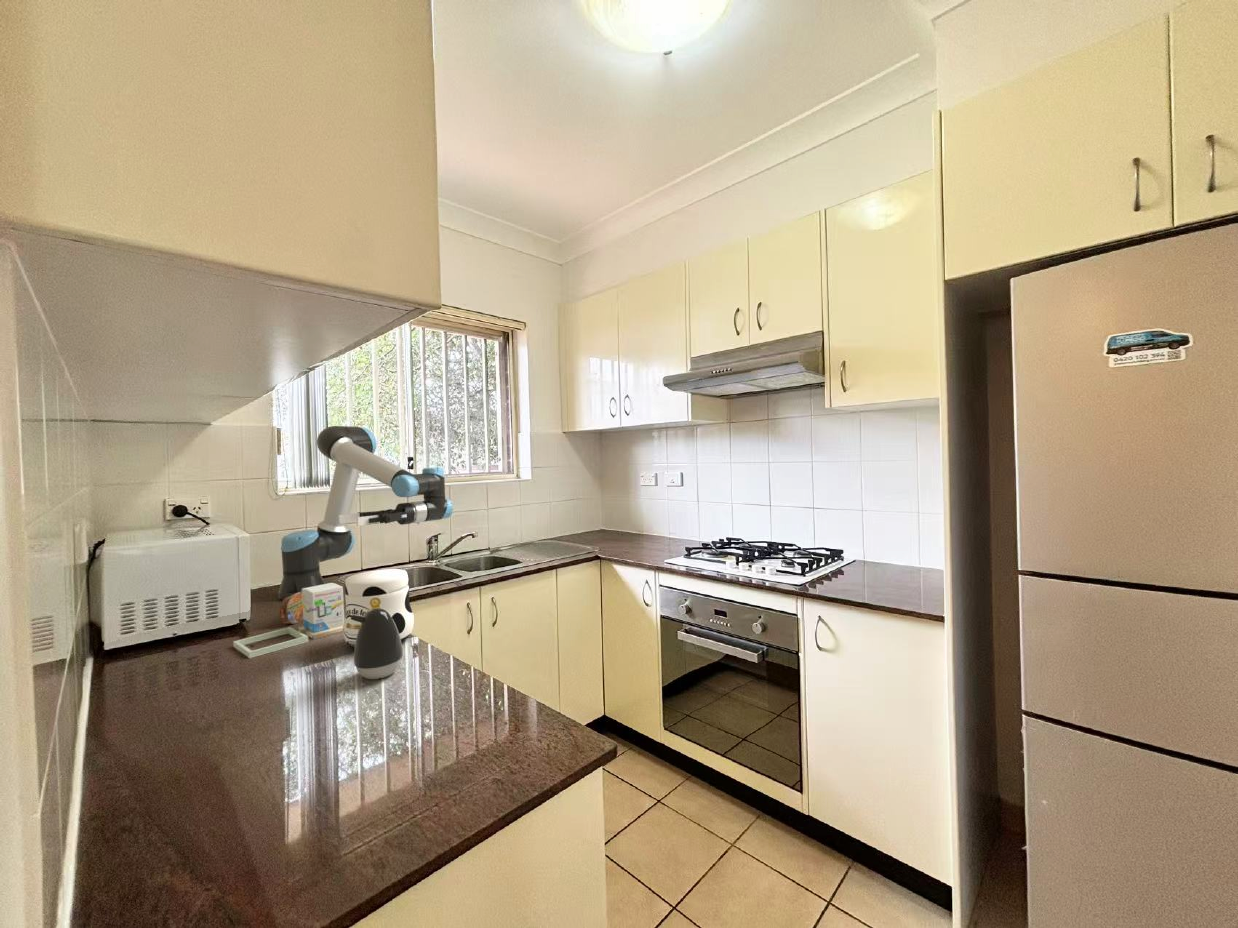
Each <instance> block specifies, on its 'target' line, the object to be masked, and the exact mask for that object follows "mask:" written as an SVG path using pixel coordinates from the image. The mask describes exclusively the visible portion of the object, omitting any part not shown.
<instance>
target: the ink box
mask: <svg viewBox="0 0 1238 928" xmlns="http://www.w3.org/2000/svg"><path fill="white" fill-rule="evenodd" d="M302 602H303V620H302V621H303V626H304V628H306V629H307V630H309V631H311V632H313V633H316V632H320V631H324V630H327V629H331V628H335V627H339V626H343V625H344V620H345V608H344V604H345V603H344V588H343V586H342V585H339V584H337V583H334V582H329V583H325V584H323V585H318V586H313V587H308V588H303V589H302Z"/></svg>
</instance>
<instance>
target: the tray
mask: <svg viewBox="0 0 1238 928" xmlns="http://www.w3.org/2000/svg"><path fill="white" fill-rule="evenodd" d="M284 635H291V636H292V637H294V638H293V639H289V640H287V641H283V642H280V643H279V642H278V643H275V644H272V645H268V646H264V647H260V648H258V649H253V650H252V649H250V648H249V647H247V646H246V645H250V644H253V643H257V642H260V641H264V640H269V639H273V638H276V637H281V636H284ZM305 643H309V636H307V635H305V634H303V633H301V632H299V631H298V629H295V628H293V627H291V626H288V627H285V628H284V627H283V628H280V629H276V630H272V631H268V632H264V633H261V634H258V635H257V634H256V635H254V636H249V637H246V638H242V639H238V640H233V648H234V649H236V650H237V651H238V652H240V653H241V654H243V655H244V656H246V657H247V658H248V659H252V658H256V657H258V656H262V655H266V654H270V653H274V652H277V651H280V650H284V649H286V648H291V647H295V646H298V645H302V644H305Z"/></svg>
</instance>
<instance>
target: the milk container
mask: <svg viewBox="0 0 1238 928" xmlns="http://www.w3.org/2000/svg"><path fill="white" fill-rule="evenodd" d="M344 591H345V595H344V596H345V598H344V600H345V607H346V608H345V615H344V625H343V631H342V632H343V638H344V641H345V643H346V644H347V645H348V646H350V647H352V648H354V649H355V642H356V638H357V634H358V631H359V628H360V626H361V623H360V622H357V621H354V620H351V616H352V615H357V616H363V617H365V615H366V614H367V613H368V612H369V611H371V610H373V609H376V608H381V609H384V610H386V611H387V612H388V613H389V614H390V615H391V617H392V619H393V620H394V622H395V624H396V627H397V629H398V632H399V635H400V638H401V642H402V641H404V640H405V639H406V638H408V637H409V636H411V634H412V632H413V630H414V626H415V625H414V624H415V619H414V618H415V616H414V612H413V609H412V607H411V603H410V586H409V575H408V572H407V571H406V569H405V570H403V569H398V568H394V569H393V568H391V569H390V568H389V569H379V570H378V569H377V570H370V571H363V572H361V573H355V574H353V575H350V576H349V577H348V576H347V578H345V583H344Z"/></svg>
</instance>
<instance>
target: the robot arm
mask: <svg viewBox="0 0 1238 928" xmlns="http://www.w3.org/2000/svg"><path fill="white" fill-rule="evenodd" d="M377 443H378V442H377V439H376V437H375V435H374V433H373V432H372V430H370V429H368V428H365V427H361V426H357V425H356V426H355V425H354V426H342V425H331V426H327V427H326V428H324V429H323V430H321V431H320V432H319V433H318V436H317V438H316V445H317V446H316V447H317V449H318V451H319V452H320V453H321V454H322V455H323V456H324V457H327V458H328V459H330V460H331V461H334V462H335V463H336V464H335V469H334V472H333V476H332V481H331V487H330V489H329V490H330V491H329V494H328V499H327V505H326V509H325V513H324V516H323V517H324V518H323V520H322V521H320V522H319V523H318V524H317V528H316V529H304V530H300V531H294V532H290V533H288V534H286V535H284V536H283V537H282V538H281V547H280V550H281V561H282V563H281V564H282V580H281V582H280V586H279V589H278V592H277V593H278V594H277V596H278V599H279V598H280V599H282V600H281V601H283V600H284V599H285V598H287V597H289V596H292V595H294V594H296V593H298V592H300V591H302V589H303V588H308V587H313V586H318V585H323V584H326V583H325V581H324V578H323V577H322V574H321V569H320V563H322V562H323V563H324V562H326V561H330V560H335V559H336V560H337V559H340V558H342V557H344V556H347V555H348V554H349V553H350V552H352V550H353V548H354V545H355V536H354V533H353V531H352V527H351V525H350V524H349V523H353V522H355V523H356V526H357V527H362V526H370V525H378V524H389V523H395V522H397V523H398V524H399V525H401V526H402V525H410V524H417V525H420V524H421V523H422V522H423V523H424V522H432V521H438V520H439V521H440V520H445V519H448V518H450V517H451V516H452V514H453V512H454V505H453V502H452V501H451V499H450V498H446V483H445V481H446V480H445V472H444V471H445V470H444V468H443V467H441V466H440V467H424V468H423V469H422V473H416V474H415V473H411V472H409V471H408V470H405V468H402V467H400V466H398V465H396V464H394V463H392V462H390V461H389V460H386V459H385V458H383V457H382V456H381V457H380V456H378V455H377V454H375V452H376V450H377V447H378V446H377ZM360 473H361V474H362V473H363V474H364V475H366V476H369V477H370V478H372V479H374V480H376V481H378V482H380V483H381V484H383V485H385V486H388V487H389V488H391V490H392V492H393V493H394V495H395V496H397V497H399V498H411V497H416V496H423V500H418V501H411V502H402V503H401V502H400V503H398V504H397V505H396V506H395V509H393V508H391V509H390V508H389V509H383V510H382V509H381V510H376V511H375V510H374V511H359V512H355V513H351V512H352V509H353V508H352V507H353V502H354V497H355V494H356V489H357V485H358V480H359V477H360ZM280 599H279V600H280Z"/></svg>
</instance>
